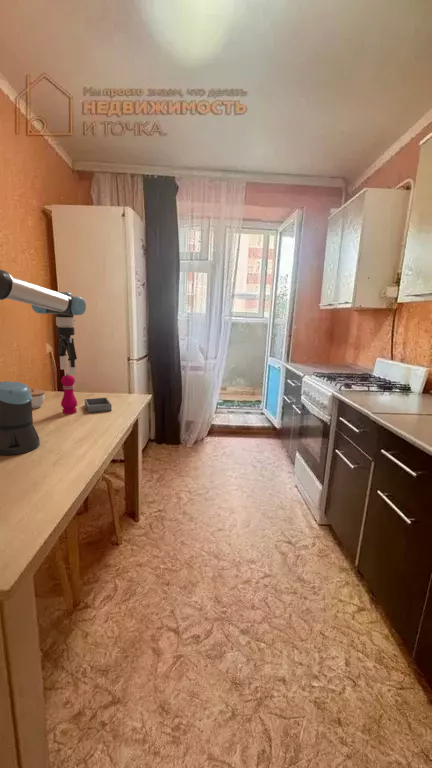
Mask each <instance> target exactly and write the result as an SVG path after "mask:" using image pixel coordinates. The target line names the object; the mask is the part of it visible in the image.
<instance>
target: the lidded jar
mask: <svg viewBox="0 0 432 768" xmlns="http://www.w3.org/2000/svg"><path fill="white" fill-rule="evenodd" d="M30 393H31V396H32V397H31V400H32V410H33V409H38V408H41V406H42V405H43V404H44V402H45V399H46V397H45V395H46V392H45V390H42V389H34V388H31V389H30Z"/></svg>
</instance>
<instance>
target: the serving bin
mask: <svg viewBox="0 0 432 768" xmlns="http://www.w3.org/2000/svg"><path fill="white" fill-rule="evenodd" d="M84 407H85V409H86V411H87V413H88V414H94V413H103V412H104V413H105V412H112V409H113V408H112V403H111V402H110V400H109V399H108V397H97V398H96V397H95V398H84Z"/></svg>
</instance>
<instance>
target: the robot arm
mask: <svg viewBox="0 0 432 768" xmlns="http://www.w3.org/2000/svg"><path fill="white" fill-rule="evenodd" d="M6 299H7V300H11V301H15V302H16V301H17V302H19V303H23V304H26V305H27V304H28V305H30V306H31V308H32V310H33V311H34V312H35V313H36V314H41V315H44V314H45V315H46V314H47V315H49V314H50V315H55V324H56V326H57V327H56V334H57V335H58V349H57V350H58V351H57V354H58V355H59V366H60V370H67V369H68V372H69V374H70V375H76V373H77V370H76V360H77V358H78V357H77V352H76V347H75V341H74V340H75V339H74V338H73V337H71V336H74V335H75V333H76V332H75V327H74V326H75V323H74V322H75V321H76V320H75V318H74V316H82V315H83V314H84V313H85V312H86V311H87V310H86V308H87V303H86V300H85V299H84V298H83V297H80V296H76V295H75V296H73V294H72V293H71V292H69V291H67V292H65V291H57V290H53V289H50V288H48V287H44V286H41V285H37V284H35V283H32V282H30V281H29V282H28V281H26V280H24V279H21V278H17V277H14V276H12V274H10V273H9V272H8V271H6V270H4V269H0V301H4V300H6ZM67 356H68V357H67ZM67 361H68V367H67ZM30 390H31V389H30V387H29V386H28V384H26V383H23V382H18V381H11V380H10V381H9V380H7V381H0V456H14V455H15V456H16V455H20V454H25V453H28V452H29V453H30V452H31V451H33V450H35V449H37V448H39V447H40V444H41V441H40V437H39V435H38V433H37V430H36V429H35V426H34V422H33V409H32V400H31V397H32V396H31V393H30Z"/></svg>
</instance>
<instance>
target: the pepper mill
mask: <svg viewBox="0 0 432 768" xmlns="http://www.w3.org/2000/svg"><path fill="white" fill-rule="evenodd" d="M60 382H61V384H62V389H63V395H62V399H61V403H60V405H61V407H62V414H64V415H73V414H76V413H78V412H77V411H78V409H77V406H78V401H77V398H76V395H75V393H74V389H75V385H74V384H75V383H76V380H75V377H74V376H73V375H72V374H69V371H67V372H66V373H65V375H63V376H62V378H61V379H60Z"/></svg>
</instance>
